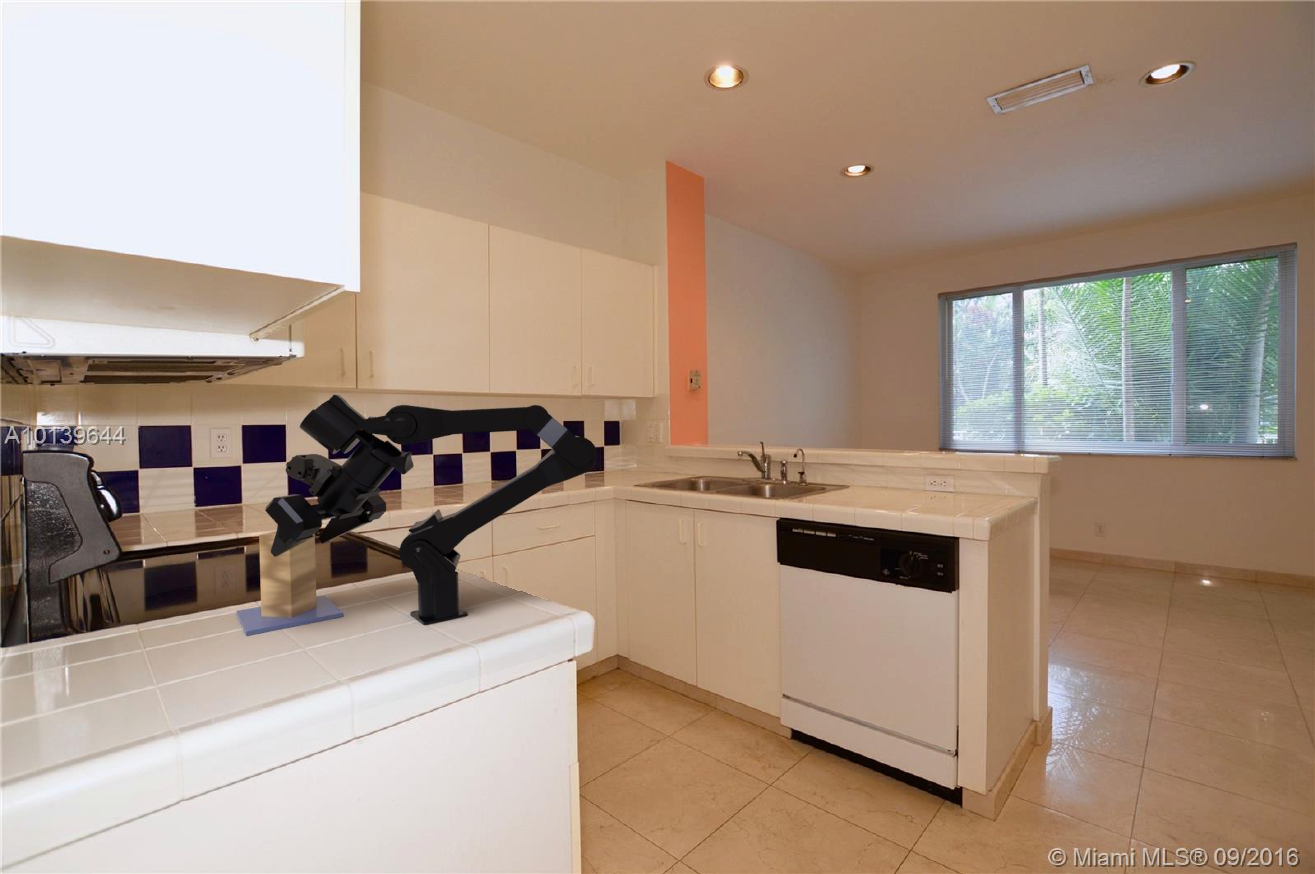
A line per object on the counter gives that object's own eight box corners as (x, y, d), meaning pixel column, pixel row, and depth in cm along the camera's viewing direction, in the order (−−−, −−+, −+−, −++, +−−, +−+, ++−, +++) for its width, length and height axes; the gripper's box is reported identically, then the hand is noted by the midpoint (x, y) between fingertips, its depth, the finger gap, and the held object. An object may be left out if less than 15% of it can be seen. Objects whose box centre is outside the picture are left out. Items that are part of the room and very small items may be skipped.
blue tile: (343, 616, 89) (343, 612, 89) (246, 635, 82) (246, 631, 82) (325, 598, 98) (325, 595, 98) (236, 614, 91) (236, 610, 91)
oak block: (316, 607, 92) (314, 529, 92) (291, 617, 87) (289, 535, 87) (287, 605, 93) (285, 528, 93) (261, 616, 88) (259, 535, 88)
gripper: (367, 433, 97) (310, 500, 100) (275, 437, 79) (207, 519, 81) (413, 482, 96) (353, 549, 98) (330, 497, 78) (259, 578, 80)
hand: (298, 547), depth 90 cm, fingers open, 9 cm apart
